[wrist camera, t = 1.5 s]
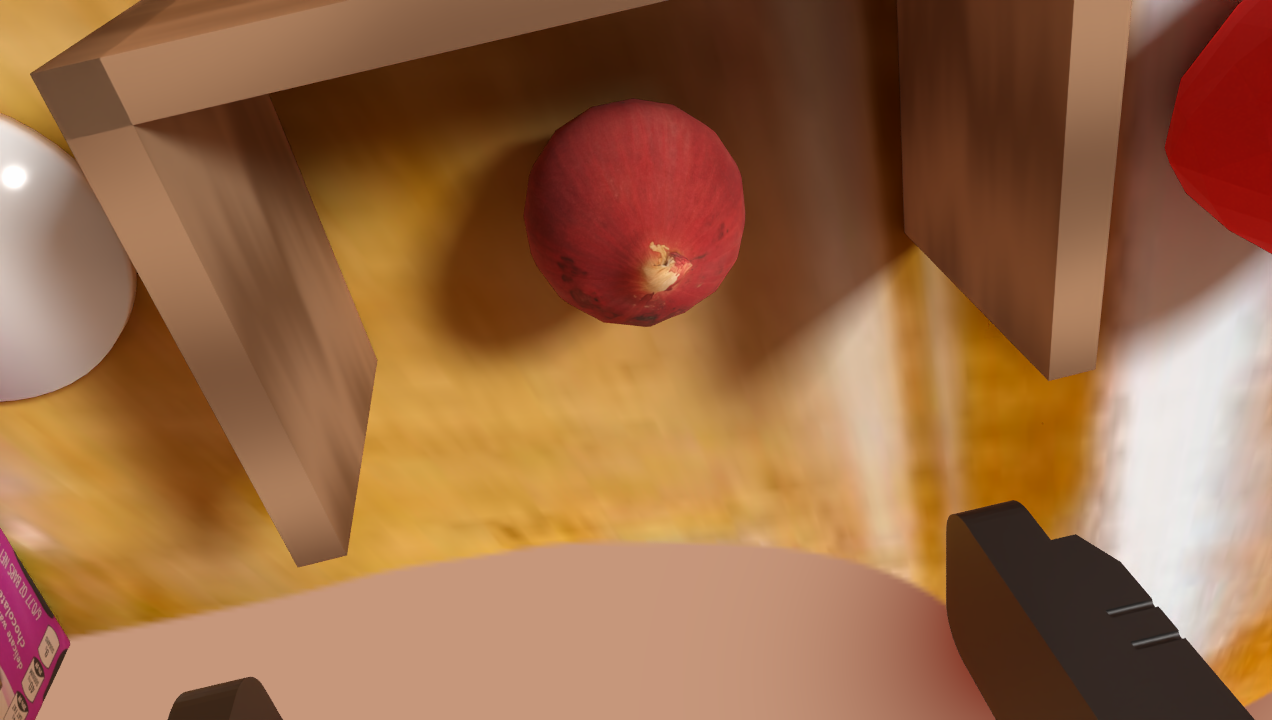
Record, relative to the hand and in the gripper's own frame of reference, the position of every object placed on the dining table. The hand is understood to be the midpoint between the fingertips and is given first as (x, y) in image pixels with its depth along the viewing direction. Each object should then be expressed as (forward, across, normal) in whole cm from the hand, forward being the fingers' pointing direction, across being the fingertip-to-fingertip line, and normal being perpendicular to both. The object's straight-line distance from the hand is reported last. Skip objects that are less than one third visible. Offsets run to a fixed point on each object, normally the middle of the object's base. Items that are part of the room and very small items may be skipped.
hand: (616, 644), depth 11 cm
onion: (+19, -2, +1) cm, 19 cm away
